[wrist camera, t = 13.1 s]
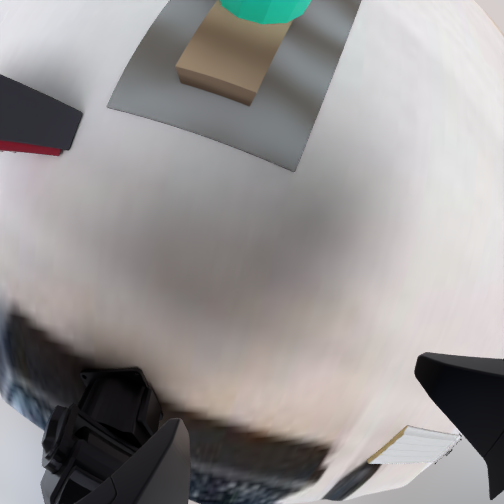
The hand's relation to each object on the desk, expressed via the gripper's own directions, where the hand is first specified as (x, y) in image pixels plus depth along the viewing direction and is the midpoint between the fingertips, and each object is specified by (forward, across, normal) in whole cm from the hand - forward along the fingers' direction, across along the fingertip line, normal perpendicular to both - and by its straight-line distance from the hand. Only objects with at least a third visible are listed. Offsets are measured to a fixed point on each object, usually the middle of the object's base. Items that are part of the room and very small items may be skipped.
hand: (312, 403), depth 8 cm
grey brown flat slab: (+12, +4, +21) cm, 25 cm away
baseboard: (+13, +27, -41) cm, 51 cm away
